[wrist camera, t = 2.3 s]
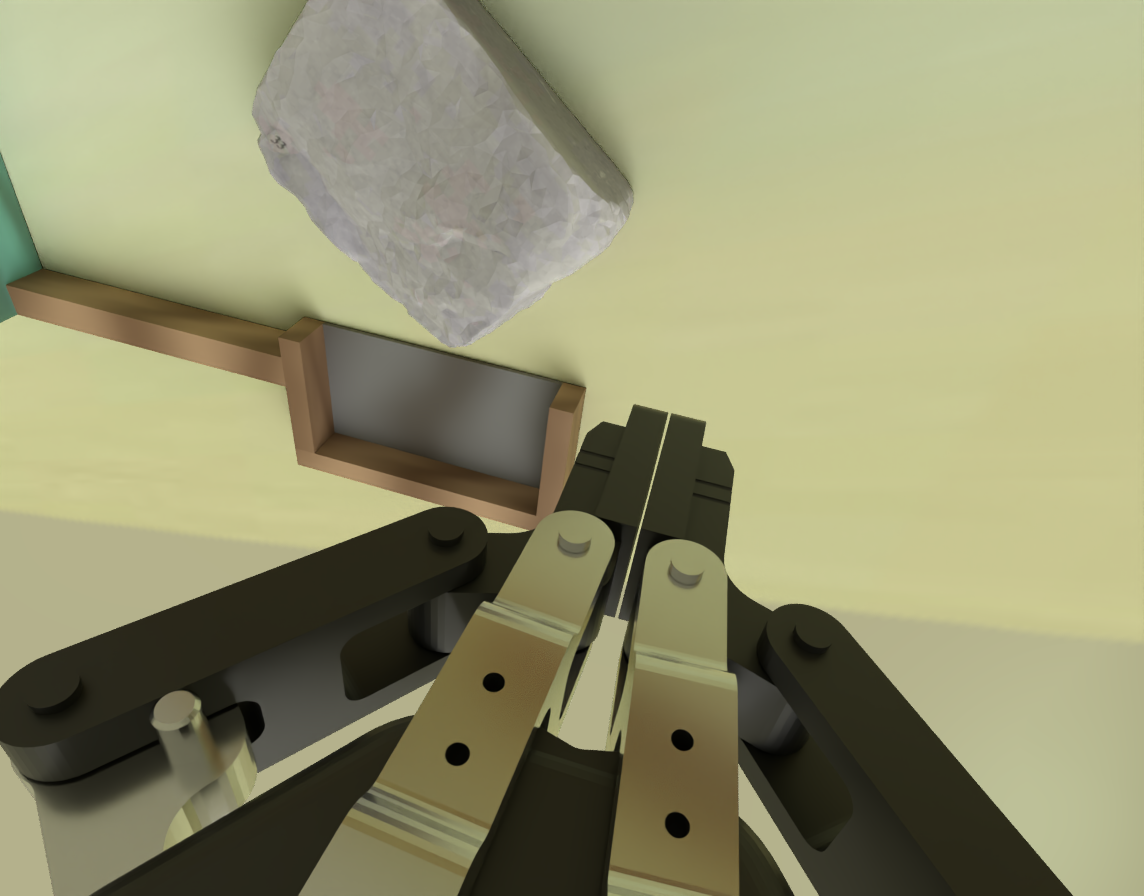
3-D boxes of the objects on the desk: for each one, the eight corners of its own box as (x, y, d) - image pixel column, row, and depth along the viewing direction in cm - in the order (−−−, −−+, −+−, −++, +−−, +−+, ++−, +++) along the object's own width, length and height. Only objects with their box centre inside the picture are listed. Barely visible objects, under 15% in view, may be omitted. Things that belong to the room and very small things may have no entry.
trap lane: (713, -421, 16) (696, -481, 14) (566, 509, 34) (548, 552, 31) (-284, -508, 20) (-429, -565, 18) (56, 367, 38) (7, 396, 35)
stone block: (507, 324, 31) (669, 187, 24) (450, 386, 28) (616, 250, 21) (301, 103, 28) (415, -127, 21) (211, 145, 25) (309, -110, 18)
